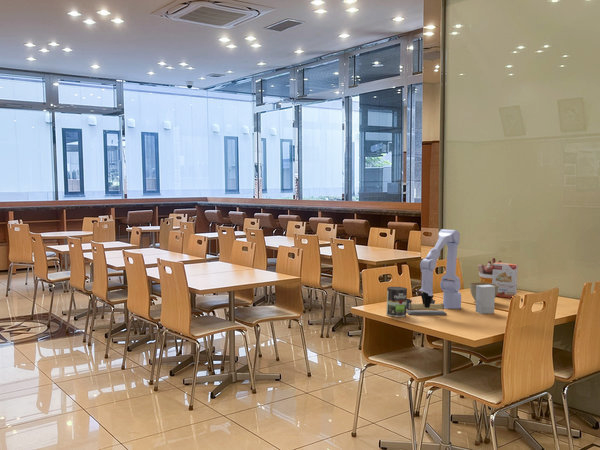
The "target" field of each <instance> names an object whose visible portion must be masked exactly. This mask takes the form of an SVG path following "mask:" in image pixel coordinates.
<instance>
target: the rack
mask: <svg viewBox="0 0 600 450" xmlns="http://www.w3.org/2000/svg"><path fill="white" fill-rule="evenodd" d="M412 302H413V301H412V299H411V298H407V300H406V310H410V309H409V303H412ZM430 304H436V300H435V299H433V298H432V300H431V303H430ZM429 311H436V309H429Z"/></svg>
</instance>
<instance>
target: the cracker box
mask: <svg viewBox="0 0 600 450" xmlns="http://www.w3.org/2000/svg"><path fill="white" fill-rule="evenodd" d="M492 265H493V276H492V284H497V285H499V287H498V293H497V295H496V297H501V298H509V299H512V298H511V297H512V296H514V295H516V296H517V291H518V290H517V288H518V271H519V270H518V268H519V267H518V266H519V265H518V264H517V263H516V264H515V263H508V262H506V263H505V262H501V263H498V262H495V263H492Z"/></svg>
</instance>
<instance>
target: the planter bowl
mask: <svg viewBox="0 0 600 450" xmlns="http://www.w3.org/2000/svg"><path fill="white" fill-rule="evenodd" d="M476 285H492V286H495V298H496V297H497V296H496V295H497V293H498V287H499V285H497V284H492V283H481V282H471V283H469V288H470V294H471V296H472V298H473V300H474V303H476Z"/></svg>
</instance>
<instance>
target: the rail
mask: <svg viewBox="0 0 600 450" xmlns="http://www.w3.org/2000/svg"><path fill="white" fill-rule="evenodd" d="M430 309H435V310H441V311H444V310H445V308H444V304H443V302H442V303H435V304H430V307H429V308H425V305H424V304H423V303H415V302H414V303H412V302H411V303H409V309H408V310H430Z"/></svg>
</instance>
